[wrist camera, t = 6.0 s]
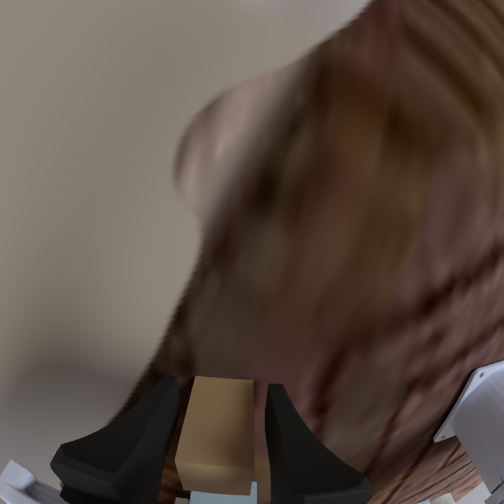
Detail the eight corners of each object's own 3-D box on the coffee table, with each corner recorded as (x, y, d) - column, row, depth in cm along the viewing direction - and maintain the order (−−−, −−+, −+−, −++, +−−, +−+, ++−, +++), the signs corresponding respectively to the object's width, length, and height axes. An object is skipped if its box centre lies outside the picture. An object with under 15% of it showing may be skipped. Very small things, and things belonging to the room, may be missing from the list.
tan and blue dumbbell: (273, 380, 13) (281, 467, 8) (252, 501, 18) (252, 548, 13) (176, 373, 13) (149, 455, 8) (198, 498, 18) (192, 543, 13)
